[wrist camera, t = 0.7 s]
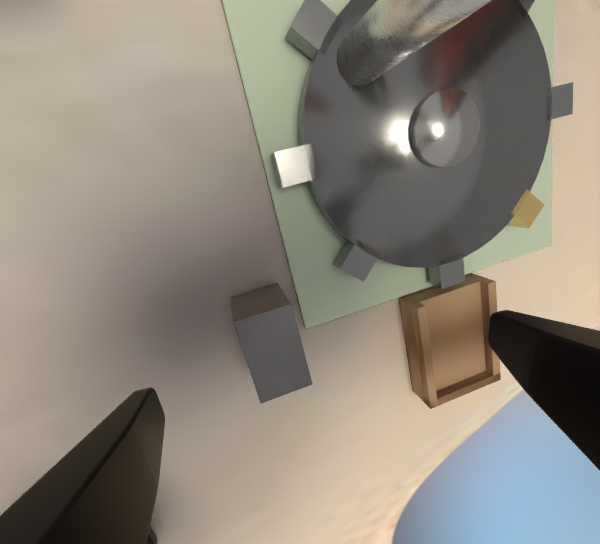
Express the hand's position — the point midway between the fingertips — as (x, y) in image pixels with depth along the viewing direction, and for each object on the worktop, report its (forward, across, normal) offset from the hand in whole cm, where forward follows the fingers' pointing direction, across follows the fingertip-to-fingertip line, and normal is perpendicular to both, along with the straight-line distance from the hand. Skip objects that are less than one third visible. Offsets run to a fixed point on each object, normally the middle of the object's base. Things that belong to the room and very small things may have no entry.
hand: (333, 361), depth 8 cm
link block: (+12, +2, +5) cm, 13 cm away
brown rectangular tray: (+12, -11, +9) cm, 19 cm away
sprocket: (+13, -10, -5) cm, 17 cm away
